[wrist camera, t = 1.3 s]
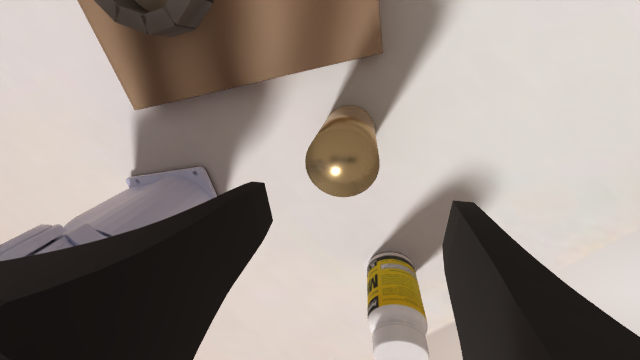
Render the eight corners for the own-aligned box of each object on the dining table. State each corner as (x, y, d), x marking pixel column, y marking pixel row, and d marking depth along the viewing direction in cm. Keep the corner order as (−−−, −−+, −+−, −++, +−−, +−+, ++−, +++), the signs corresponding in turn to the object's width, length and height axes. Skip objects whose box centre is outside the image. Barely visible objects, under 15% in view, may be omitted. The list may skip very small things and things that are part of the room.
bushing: (329, 157, 20) (313, 200, 14) (319, 110, 19) (297, 135, 12) (377, 151, 19) (383, 193, 13) (371, 100, 18) (375, 122, 12)
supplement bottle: (368, 248, 24) (369, 332, 17) (417, 252, 23) (441, 342, 16) (365, 281, 26) (366, 369, 19) (410, 286, 25) (430, 379, 18)
